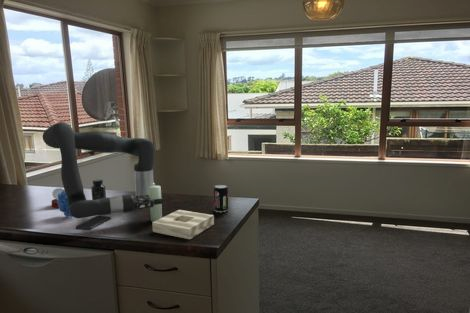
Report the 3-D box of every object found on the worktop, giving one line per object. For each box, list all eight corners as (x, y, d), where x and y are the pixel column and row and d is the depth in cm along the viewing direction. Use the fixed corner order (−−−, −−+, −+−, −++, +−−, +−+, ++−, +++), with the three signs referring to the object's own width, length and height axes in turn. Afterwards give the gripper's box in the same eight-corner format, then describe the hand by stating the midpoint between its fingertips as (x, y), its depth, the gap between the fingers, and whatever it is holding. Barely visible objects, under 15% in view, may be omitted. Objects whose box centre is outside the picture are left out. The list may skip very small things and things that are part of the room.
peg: (155, 217, 164) (154, 185, 161) (164, 218, 161) (163, 186, 159) (148, 220, 159) (146, 187, 157) (157, 222, 157) (155, 188, 154)
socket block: (179, 218, 162) (178, 209, 161) (213, 224, 154) (213, 215, 153) (152, 231, 146) (152, 222, 145) (189, 239, 138) (189, 229, 137)
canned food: (68, 211, 190) (75, 193, 192) (70, 214, 181) (78, 195, 183) (45, 204, 184) (53, 185, 186) (47, 207, 176) (56, 187, 178)
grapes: (51, 217, 165) (48, 192, 163) (64, 213, 171) (61, 188, 169) (68, 221, 160) (65, 195, 158) (81, 216, 166) (78, 191, 164)
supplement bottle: (109, 201, 189) (107, 179, 187) (100, 205, 183) (98, 182, 181) (98, 200, 192) (96, 178, 190) (89, 204, 185) (87, 181, 183)
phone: (112, 216, 163) (90, 228, 149) (112, 219, 163) (90, 230, 149) (97, 215, 165) (74, 226, 151) (97, 217, 165) (74, 229, 151)
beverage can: (228, 212, 168) (228, 187, 166) (214, 213, 168) (214, 188, 166) (227, 208, 175) (227, 184, 173) (214, 209, 174) (213, 184, 172)
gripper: (122, 200, 146) (164, 195, 153) (119, 191, 159) (158, 187, 166) (123, 217, 147) (165, 212, 154) (120, 208, 160) (158, 203, 167)
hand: (161, 199), depth 160 cm, fingers closed on peg, 5 cm apart
